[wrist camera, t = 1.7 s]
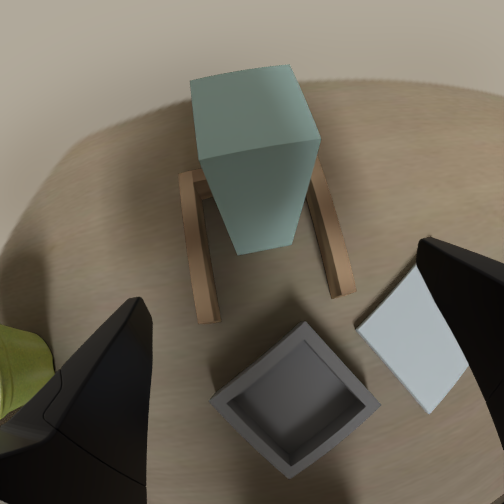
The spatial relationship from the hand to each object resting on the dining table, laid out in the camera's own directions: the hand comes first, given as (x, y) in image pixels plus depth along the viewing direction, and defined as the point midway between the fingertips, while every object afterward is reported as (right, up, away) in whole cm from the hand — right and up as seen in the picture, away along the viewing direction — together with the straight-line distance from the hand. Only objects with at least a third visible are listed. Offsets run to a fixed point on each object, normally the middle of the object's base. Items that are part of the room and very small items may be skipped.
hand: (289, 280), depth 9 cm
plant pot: (-21, -10, +12) cm, 26 cm away
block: (0, +3, +13) cm, 14 cm away
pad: (+13, -5, +11) cm, 18 cm away
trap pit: (+2, -10, +10) cm, 14 cm away
